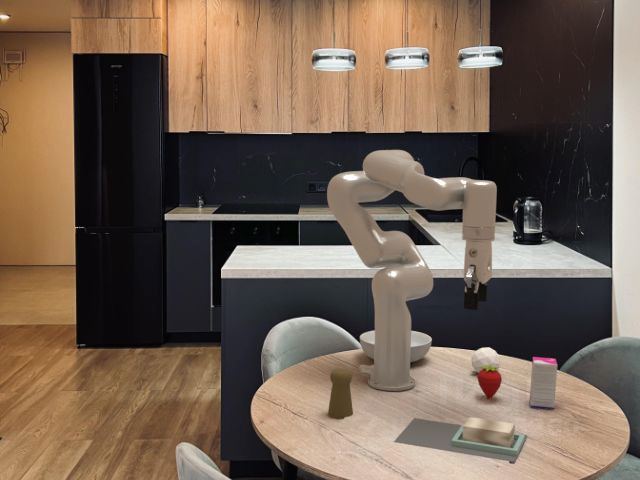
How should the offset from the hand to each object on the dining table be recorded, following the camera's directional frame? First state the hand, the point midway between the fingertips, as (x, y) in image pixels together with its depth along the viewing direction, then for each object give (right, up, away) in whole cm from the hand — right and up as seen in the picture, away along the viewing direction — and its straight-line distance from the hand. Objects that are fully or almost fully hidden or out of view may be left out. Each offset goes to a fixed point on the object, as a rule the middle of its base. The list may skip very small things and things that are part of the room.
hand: (475, 305), depth 201 cm
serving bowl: (-15, -20, +46) cm, 53 cm away
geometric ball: (+9, -22, +33) cm, 41 cm away
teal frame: (0, -29, -17) cm, 33 cm away
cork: (-32, -26, +1) cm, 41 cm away
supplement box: (+18, -26, +9) cm, 33 cm away
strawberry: (+6, -25, +13) cm, 29 cm away
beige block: (0, -29, -16) cm, 33 cm away
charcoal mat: (-6, -29, -14) cm, 33 cm away
